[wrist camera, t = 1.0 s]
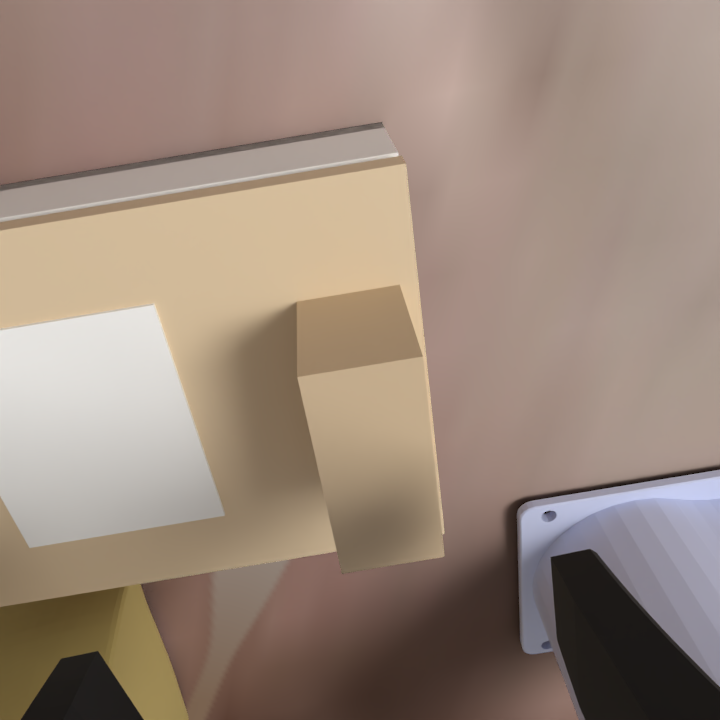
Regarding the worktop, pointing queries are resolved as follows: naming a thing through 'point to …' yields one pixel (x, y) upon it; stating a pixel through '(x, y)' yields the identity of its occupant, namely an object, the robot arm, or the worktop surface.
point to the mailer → (195, 171)
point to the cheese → (87, 649)
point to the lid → (215, 384)
